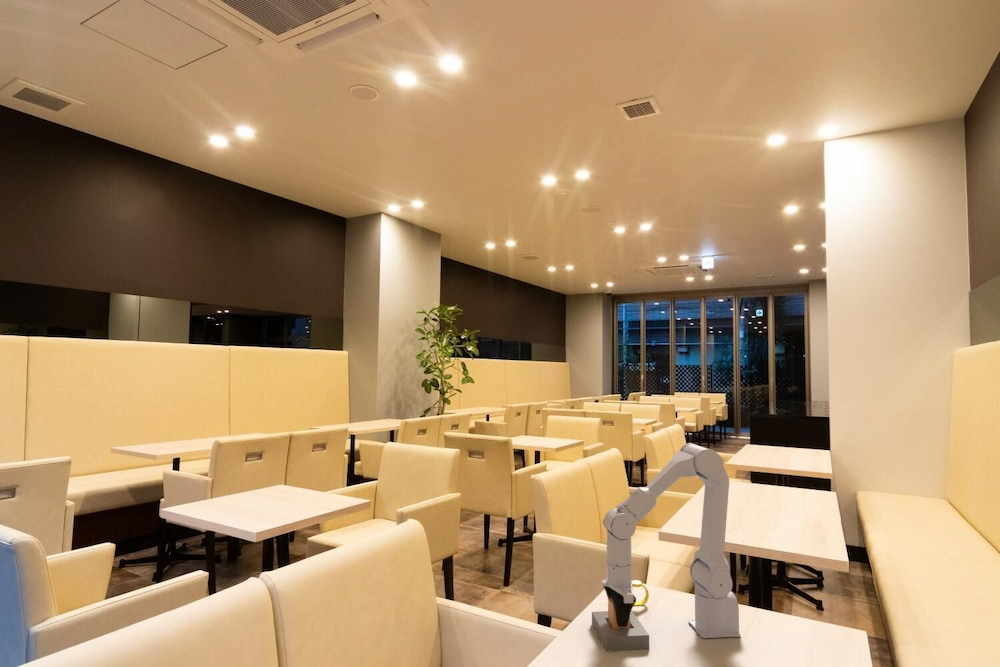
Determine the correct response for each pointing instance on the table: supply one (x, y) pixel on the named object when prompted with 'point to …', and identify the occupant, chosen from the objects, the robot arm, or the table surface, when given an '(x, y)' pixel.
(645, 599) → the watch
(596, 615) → the socket block
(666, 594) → the table surface
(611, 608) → the plug
